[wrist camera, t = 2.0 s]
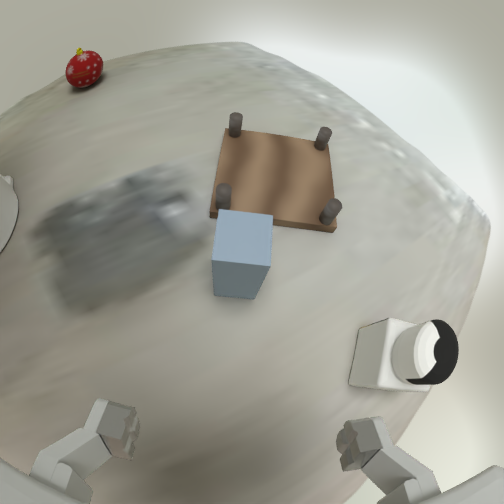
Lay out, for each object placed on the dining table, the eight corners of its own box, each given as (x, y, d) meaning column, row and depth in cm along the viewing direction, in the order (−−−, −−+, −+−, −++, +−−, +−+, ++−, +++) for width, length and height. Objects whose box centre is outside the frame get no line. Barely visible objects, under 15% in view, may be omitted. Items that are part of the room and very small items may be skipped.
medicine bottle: (403, 337, 32) (468, 319, 21) (394, 391, 29) (461, 391, 18) (358, 327, 32) (418, 304, 21) (346, 384, 29) (407, 388, 18)
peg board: (209, 217, 35) (209, 195, 31) (225, 135, 41) (226, 111, 36) (332, 232, 36) (347, 213, 32) (325, 150, 42) (335, 128, 38)
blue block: (214, 295, 31) (211, 259, 21) (218, 258, 33) (218, 209, 23) (254, 299, 32) (270, 266, 22) (256, 262, 34) (273, 215, 23)
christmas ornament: (65, 97, 43) (52, 62, 34) (81, 76, 46) (71, 43, 37) (97, 92, 44) (86, 54, 35) (112, 71, 47) (104, 36, 38)
